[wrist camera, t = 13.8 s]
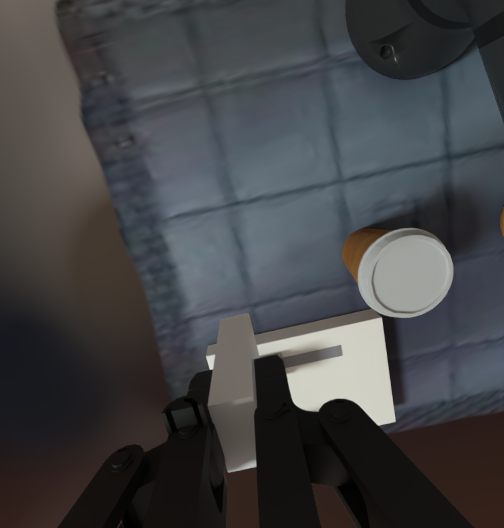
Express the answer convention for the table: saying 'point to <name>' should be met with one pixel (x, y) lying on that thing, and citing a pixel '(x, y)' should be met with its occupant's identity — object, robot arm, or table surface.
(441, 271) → the disposable coffee cup
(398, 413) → the table surface
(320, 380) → the panel
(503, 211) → the doughnut
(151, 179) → the table surface
